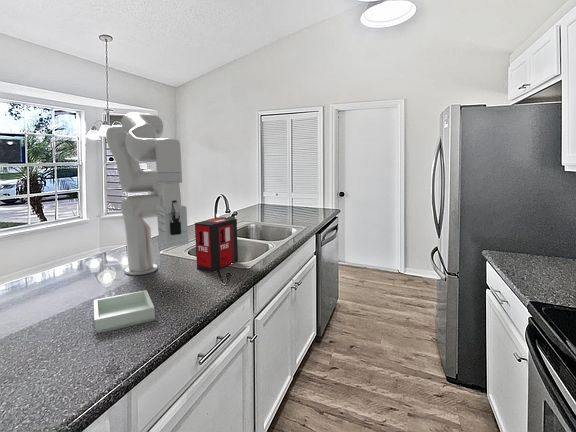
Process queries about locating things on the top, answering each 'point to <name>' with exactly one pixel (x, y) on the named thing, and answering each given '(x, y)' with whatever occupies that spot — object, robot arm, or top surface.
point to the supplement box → (164, 228)
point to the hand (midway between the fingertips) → (172, 231)
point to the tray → (123, 311)
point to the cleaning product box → (216, 243)
